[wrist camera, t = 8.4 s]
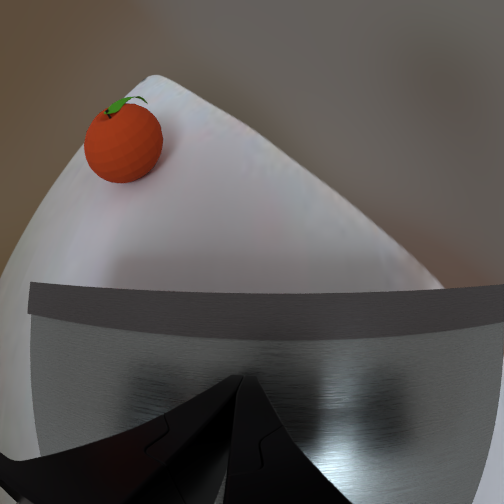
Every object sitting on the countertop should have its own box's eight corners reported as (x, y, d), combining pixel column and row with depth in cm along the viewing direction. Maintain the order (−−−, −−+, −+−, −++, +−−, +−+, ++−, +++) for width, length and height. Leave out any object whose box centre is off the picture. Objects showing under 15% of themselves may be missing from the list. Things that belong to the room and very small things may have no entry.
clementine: (135, 138, 28) (111, 84, 22) (191, 141, 26) (171, 77, 20) (92, 195, 24) (54, 139, 18) (148, 205, 22) (111, 138, 16)
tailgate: (468, 519, 6) (505, 284, 9) (45, 490, 8) (30, 281, 11) (456, 507, 7) (486, 289, 10) (61, 482, 10) (50, 287, 13)
